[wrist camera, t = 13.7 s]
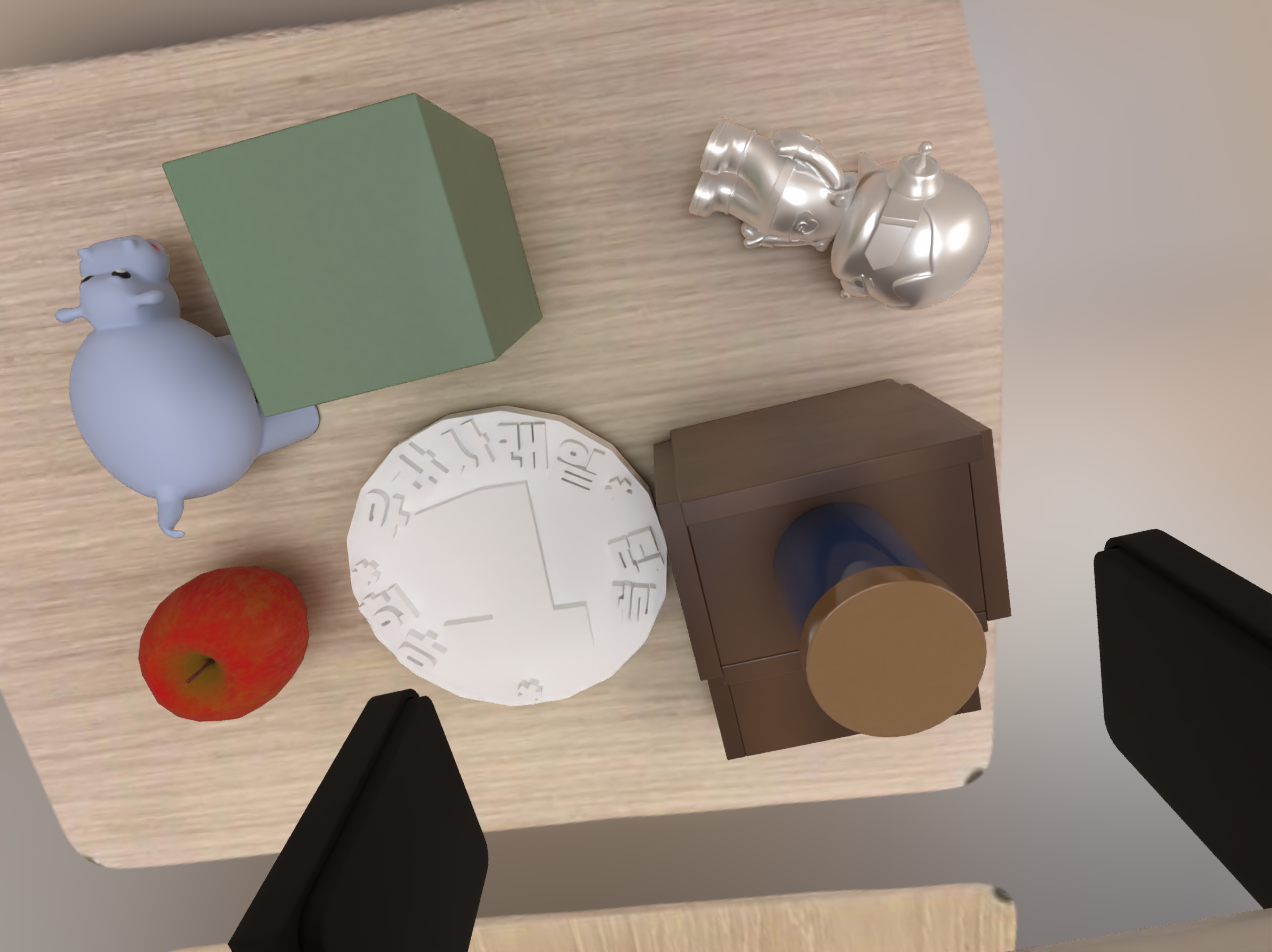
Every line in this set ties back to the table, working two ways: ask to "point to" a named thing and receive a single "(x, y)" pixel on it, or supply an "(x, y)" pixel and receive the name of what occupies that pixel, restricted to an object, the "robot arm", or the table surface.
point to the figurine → (849, 212)
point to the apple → (224, 643)
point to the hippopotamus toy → (163, 385)
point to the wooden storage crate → (781, 493)
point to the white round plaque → (508, 556)
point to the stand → (358, 251)
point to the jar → (875, 623)
